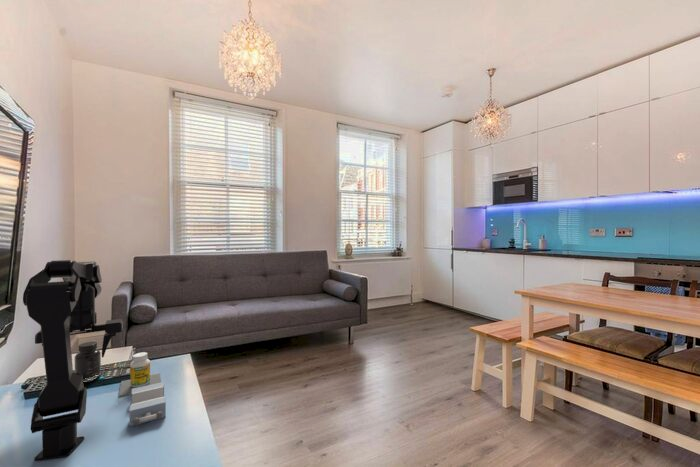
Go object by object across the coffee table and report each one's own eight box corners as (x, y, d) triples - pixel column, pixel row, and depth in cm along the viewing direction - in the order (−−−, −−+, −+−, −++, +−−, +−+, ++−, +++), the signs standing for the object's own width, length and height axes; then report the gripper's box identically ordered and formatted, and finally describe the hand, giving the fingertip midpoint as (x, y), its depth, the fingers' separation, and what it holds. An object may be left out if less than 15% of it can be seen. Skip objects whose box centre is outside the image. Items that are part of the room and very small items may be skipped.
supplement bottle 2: (148, 378, 108) (147, 350, 108) (152, 384, 104) (152, 354, 104) (128, 383, 104) (128, 354, 104) (132, 389, 100) (132, 359, 100)
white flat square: (161, 387, 102) (161, 386, 102) (118, 397, 96) (118, 395, 96) (160, 374, 112) (160, 373, 112) (121, 382, 106) (121, 381, 106)
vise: (166, 422, 84) (166, 407, 84) (129, 432, 80) (128, 416, 80) (163, 394, 98) (163, 381, 98) (132, 402, 94) (131, 388, 94)
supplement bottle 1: (69, 382, 106) (69, 346, 105) (91, 373, 112) (91, 339, 112) (84, 385, 104) (84, 348, 103) (105, 376, 110) (105, 341, 110)
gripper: (123, 297, 103) (124, 345, 104) (45, 304, 93) (46, 357, 94) (121, 304, 94) (121, 357, 94) (33, 312, 84) (34, 372, 84)
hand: (82, 360), depth 92 cm, fingers open, 9 cm apart
